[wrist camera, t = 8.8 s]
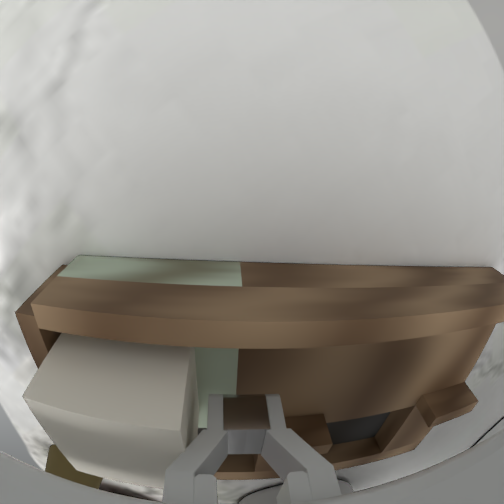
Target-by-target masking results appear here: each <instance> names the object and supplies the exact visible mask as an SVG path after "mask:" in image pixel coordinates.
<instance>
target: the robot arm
mask: <svg viewBox="0 0 504 504" xmlns="http://www.w3.org/2000/svg"><path fill="white" fill-rule="evenodd" d="M227 454H261V456H262V457H263V458H264V459H265V460H266V462H267V463H268V464H269V465H270V466H271V467H272V469H273V470H274V471H275V472H276V473H277V474H278V476H279V477H280V478H281V479H282V480H283V481H284V483H283V485H282V487H281V489H280V491H279V493H278V495H277V497H276V499H277V504H504V418H503V419H502V420H501V421H500V422H499V423H498V424H497V425H496V426H495V427H494V428H493V429H491V430H490V431H489V432H488V433H487V434H486V435H485V436H484V437H483V438H482V439H481V440H480V441H479V442H478V443H477V444H476V445H475V446H473V447H471V448H470V449H468V450H466V451H464V452H462V453H460V454H458V455H456V456H454V457H452V458H450V459H447V460H445V461H443V462H441V463H439V464H436V465H434V466H432V467H429V468H427V469H424V470H422V471H419V472H417V473H414V474H412V475H409V476H406V477H403V478H400V479H397V480H395V481H391V482H388V483H385V484H382V485H379V486H375V487H372V488H368V489H364V490H360V491H356V492H352V493H348V494H344V495H342V494H341V491H340V487H339V484H338V480H337V477H336V473H335V470H334V466H333V465H332V464H331V463H330V462H328V461H327V460H326V459H325V458H324V457H322V456H321V455H320V454H319V453H318V452H317V451H315V450H314V449H313V448H312V447H311V446H310V445H309V444H307V443H306V442H305V441H304V440H303V439H302V438H301V437H300V436H298V435H297V434H296V433H295V432H294V431H293V430H292V429H291V428H286V423H285V418H284V413H283V408H282V403H281V398H280V395H279V394H242V395H232V394H209V396H208V417H207V430H206V429H203V430H202V431H201V432H200V433H199V435H198V436H197V437H196V438H195V439H194V440H193V441H192V442H191V443H190V445H189V446H188V447H187V448H186V449H185V452H182V453H181V454H180V455H179V457H178V458H177V459H176V460H175V461H174V462H173V463H172V464H171V465H170V466H169V467H168V468H167V469H166V473H165V481H164V491H163V501H162V502H157V501H151V500H145V499H139V498H134V497H129V496H124V495H119V494H115V493H111V492H107V491H103V490H99V489H95V488H92V487H88V486H85V485H82V484H79V483H76V482H72V481H69V480H67V479H64V478H61V477H58V476H55V475H53V474H50V473H48V472H45V471H43V470H40V469H38V468H36V467H33V466H31V465H29V464H26V463H24V462H22V461H20V460H18V459H16V458H14V457H12V456H10V455H8V454H6V453H4V452H2V451H0V504H218V496H217V480H216V477H214V474H215V473H216V471H217V470H218V469H219V467H220V466H221V464H222V463H223V461H224V460H225V459H226V457H227Z"/></svg>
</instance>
